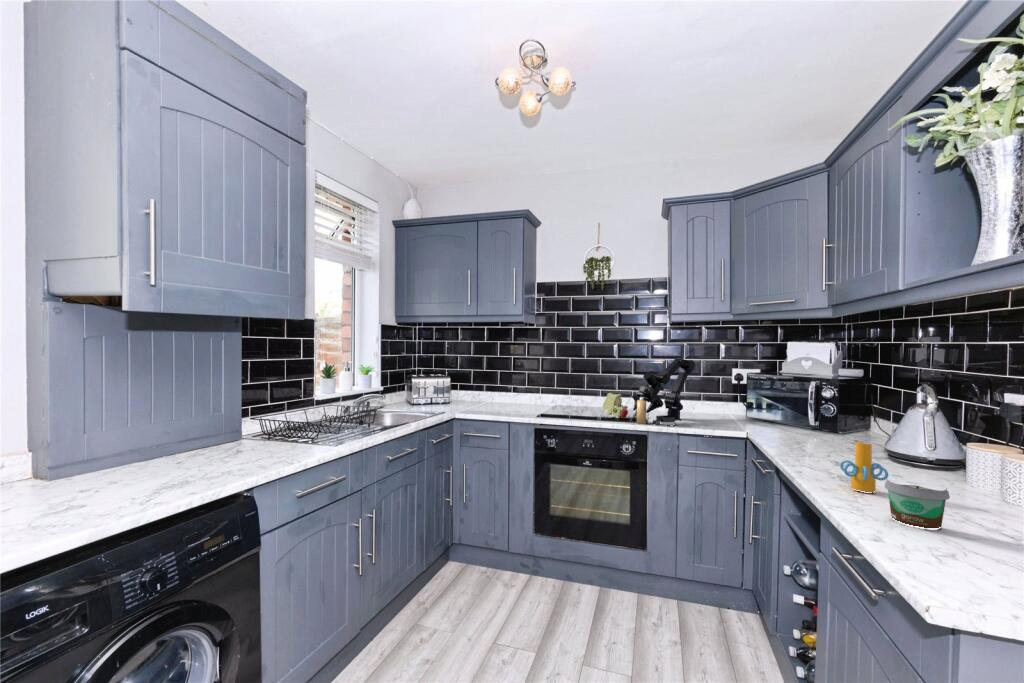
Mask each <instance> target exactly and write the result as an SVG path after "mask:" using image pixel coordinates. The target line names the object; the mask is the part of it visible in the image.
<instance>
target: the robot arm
mask: <svg viewBox="0 0 1024 683" xmlns="http://www.w3.org/2000/svg"><path fill="white" fill-rule="evenodd" d="M695 367H696V363H695V362H694V360H693V359H684V358H677V357H676V358H674V360H673V361H672V362H671V363H670V364H669V365H668V366H666V368H664V370H662V371H659V372H657V373H656V374H655V372H654V371H653V370H649V371H648V372H646V373H644V374H643V380H644V381H645V383H647V385H648V387H647V386H643V385H642V386H641V385H640V386H639V389H638V392H639V393H641V394H639V393H633V395H632V396H631V398H632V399H633V400H634V404H633V407H632V409H633V411H637V400H640V398H644V400H646V403H650V404H649V405H648V407H647V408H646V414H648V413H650V412H652V411H654V410H656V409H660V408H662V407H663V406H665V410H666V409H667V412H666V413H667V414H666V415H668V416H671V417H675V421H681V420H680V419H681V411H683V408H684V406H683V404H682V402H681V393H682V391H683V387H684V385H685V383H686V381H687V378H688V376H689V374H690V373H692V372H693V371H694V370H695ZM677 370H679V373H678V375H677V377H676V380H675V383H674V385H673V388H672V389H671V392H667V393H666V394H665V397H664V401H663V400H662V398H661V397H660V396H659V393H660V391H663V392H664V390H665V388H664V385H667V384H668V383H669V382H670V380H671V376H672V375H673V374H674V373H676V371H677ZM662 384H663V385H662ZM641 395H642V396H641Z"/></svg>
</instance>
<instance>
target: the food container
mask: <svg viewBox="0 0 1024 683" xmlns="http://www.w3.org/2000/svg"><path fill="white" fill-rule="evenodd" d="M883 487H884V488H885V489H886V490H887V491H888V502H889V509H890V517H891V516H892V518H894V519H895V520H897V521H900V522H902V523H905V524H909V525H913V526H919V527H924V528H939V527H941V526H942V527H943V520H944V513H945V507H946V502H947V500H950V499H951V497H950V493H949V492H950V491H949V490H948V488H945V490H936V489H931V488H927V487H923V486H920V485H914V484H910V485H909V484H899V483H895V482H893V481H890V480H889V479H888V478H887V479H886V480H885V483H884V486H883ZM892 518H891V519H892ZM942 527H941V528H942Z"/></svg>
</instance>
